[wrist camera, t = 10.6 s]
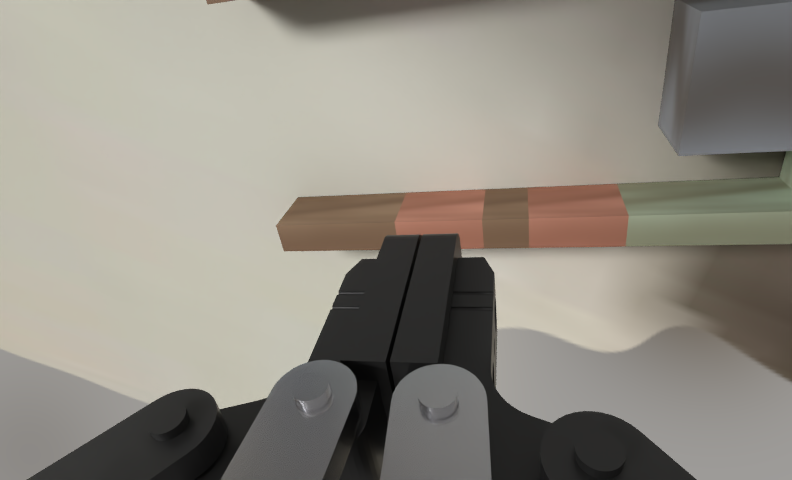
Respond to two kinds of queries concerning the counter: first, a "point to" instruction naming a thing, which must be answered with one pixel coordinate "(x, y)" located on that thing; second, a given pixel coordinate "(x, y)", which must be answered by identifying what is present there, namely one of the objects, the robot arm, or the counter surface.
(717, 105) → the block
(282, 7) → the counter surface
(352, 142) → the counter surface
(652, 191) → the track
